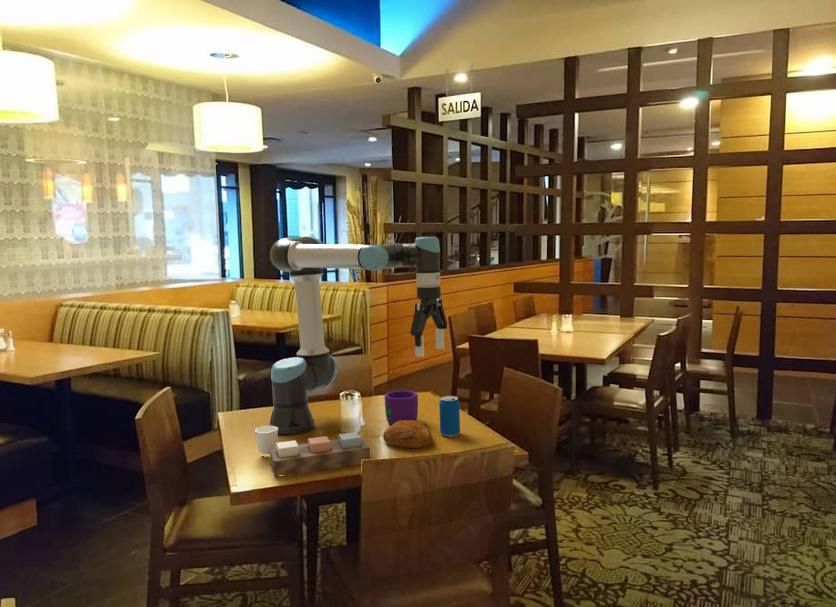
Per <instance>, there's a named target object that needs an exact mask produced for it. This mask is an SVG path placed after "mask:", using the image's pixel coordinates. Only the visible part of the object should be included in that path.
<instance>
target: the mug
mask: <svg viewBox="0 0 836 607" xmlns="http://www.w3.org/2000/svg"><path fill="white" fill-rule="evenodd" d="M384 407H385V408H384V409H385V418H386V421H387V423H388V424H389V425H391V426H392V425H393V424H394V423H396V422H397V421H401V420H412V421H418V414H419V399H418V393H417V392H415V391H413V390H412V391H411V390H406V389H405V390H403V389H402V390H393V391H389V392H386V393H385V395H384Z"/></svg>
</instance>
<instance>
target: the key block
mask: <svg viewBox="0 0 836 607" xmlns="http://www.w3.org/2000/svg"><path fill="white" fill-rule="evenodd" d="M359 436H360V437H361V446H357V447H350V448H343V449H342V448H341V447H340V445H339V438H338V439H337V438H336V439H331V440H330V439H329V441H330V450H329V451H322V452H315V453H310V452H309V449H308V443H302V444H297V445H298V450H299V455H295V456H288V457H281V458H278V457H277V447H276V448H272V449H269V451H270V457H269V463H271V465H270V467H272V468H271V471H272V470H273V471H272V473H274V474H273V477H274V476H279V475H287V476H290V475H289V474H294V475H299V474H298V473H300V474H305V473H306V472H307V473H314V472H320V471H326V470H333V469H339V468H346V467H351V466H358V465H362V464H361V460H362V459H370V460H371V449H370V448H371V447H370V445H368V444H367V442H366V441H365V440H364V439H363V437H362V436H361V435H359Z"/></svg>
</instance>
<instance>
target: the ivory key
mask: <svg viewBox="0 0 836 607" xmlns="http://www.w3.org/2000/svg"><path fill="white" fill-rule="evenodd" d="M298 445H299V444H298V443H297V441H296V439H295V440H289V441H288V440H287V441H279V442H277V443H276V448H277V457H278V458H281V457H288V456H295V455H299V450H298Z"/></svg>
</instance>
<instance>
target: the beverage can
mask: <svg viewBox="0 0 836 607" xmlns="http://www.w3.org/2000/svg"><path fill="white" fill-rule="evenodd" d="M458 397H459V396H455V395H444V396H441V397H440V400H439V402H438V404H439V432H440V434H441V435H442V436H443V437H446V436H447V437H448V438H449V437H450V438H452V437H453V436H454V437H456V436H458V435H459V434H460V433H461V418H460V416H461V415H460V414H461V413H460V401H459V398H458ZM454 437H453V438H454Z"/></svg>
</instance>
